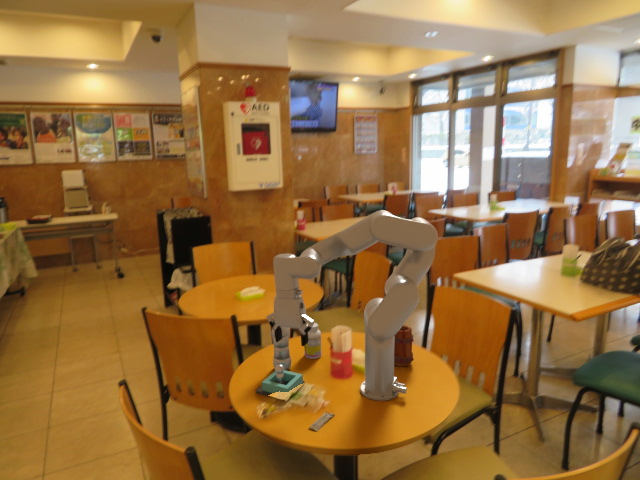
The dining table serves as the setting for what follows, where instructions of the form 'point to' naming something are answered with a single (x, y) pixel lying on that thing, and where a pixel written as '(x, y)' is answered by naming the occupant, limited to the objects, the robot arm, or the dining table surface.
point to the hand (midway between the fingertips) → (291, 342)
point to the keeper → (279, 377)
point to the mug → (403, 347)
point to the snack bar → (321, 421)
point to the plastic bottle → (282, 349)
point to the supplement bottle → (313, 343)
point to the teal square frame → (273, 387)
